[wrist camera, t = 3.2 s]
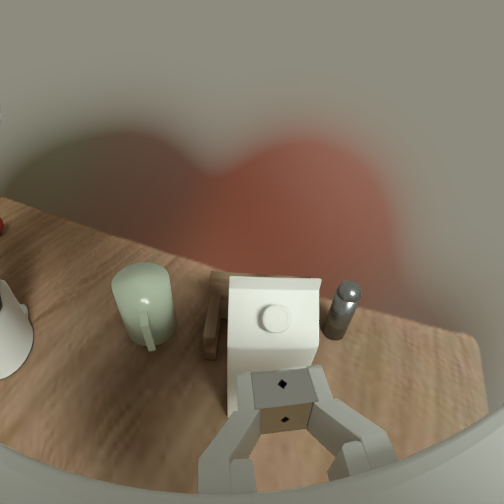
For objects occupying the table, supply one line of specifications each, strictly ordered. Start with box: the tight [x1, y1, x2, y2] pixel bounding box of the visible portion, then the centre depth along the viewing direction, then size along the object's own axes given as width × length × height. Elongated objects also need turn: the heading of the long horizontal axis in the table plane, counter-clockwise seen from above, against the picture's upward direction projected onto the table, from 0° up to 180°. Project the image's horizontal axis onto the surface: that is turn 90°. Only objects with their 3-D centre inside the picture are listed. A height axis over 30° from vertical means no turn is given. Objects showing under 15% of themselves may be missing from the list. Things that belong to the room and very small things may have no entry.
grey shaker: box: [323, 281, 361, 340], centre depth 39 cm, size 4×4×10 cm
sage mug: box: [111, 262, 177, 351], centre depth 36 cm, size 8×11×9 cm
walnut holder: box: [203, 271, 310, 360], centre depth 38 cm, size 14×9×8 cm, turn 89°
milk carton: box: [227, 276, 321, 418], centre depth 27 cm, size 7×7×19 cm
